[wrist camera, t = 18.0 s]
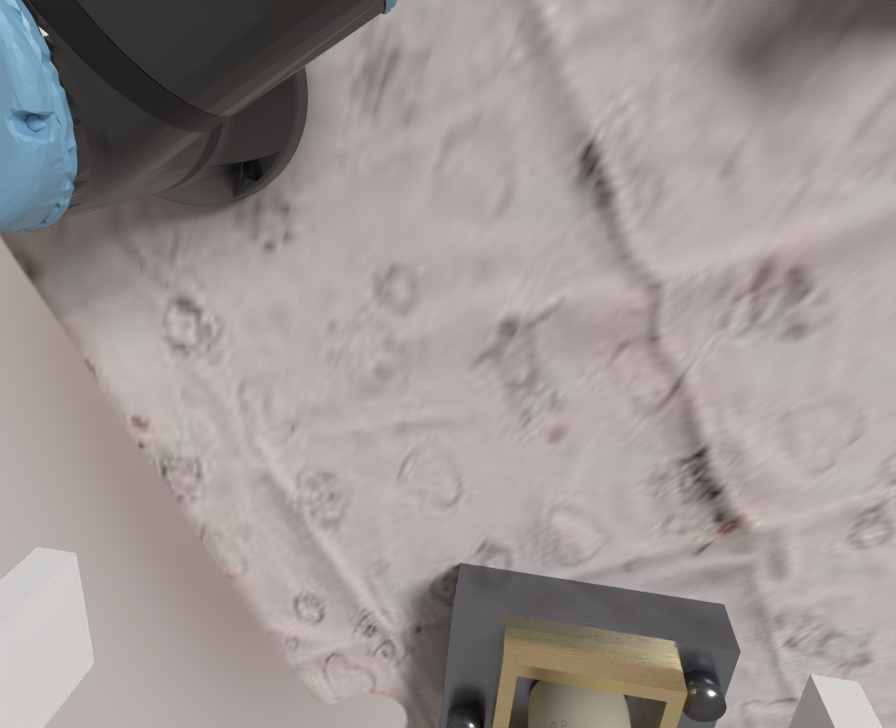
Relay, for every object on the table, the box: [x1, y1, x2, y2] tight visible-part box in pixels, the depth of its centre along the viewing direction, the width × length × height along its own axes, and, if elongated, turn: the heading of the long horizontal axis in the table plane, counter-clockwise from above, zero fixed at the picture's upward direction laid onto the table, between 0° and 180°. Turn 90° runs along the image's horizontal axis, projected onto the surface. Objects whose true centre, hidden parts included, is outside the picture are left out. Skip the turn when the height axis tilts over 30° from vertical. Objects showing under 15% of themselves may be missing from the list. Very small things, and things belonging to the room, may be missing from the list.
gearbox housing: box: [439, 563, 740, 728], centre depth 55 cm, size 22×16×8 cm
